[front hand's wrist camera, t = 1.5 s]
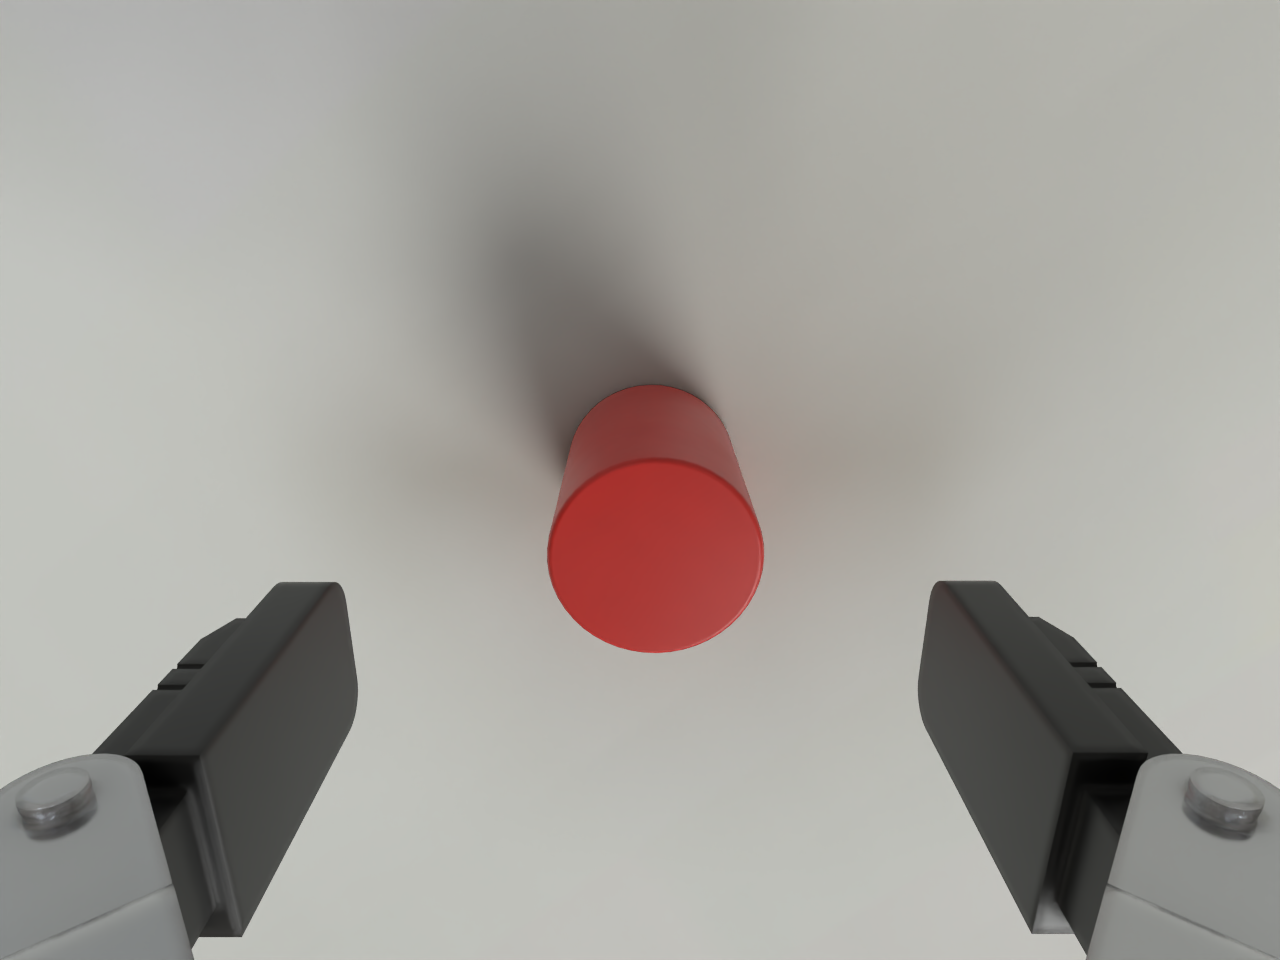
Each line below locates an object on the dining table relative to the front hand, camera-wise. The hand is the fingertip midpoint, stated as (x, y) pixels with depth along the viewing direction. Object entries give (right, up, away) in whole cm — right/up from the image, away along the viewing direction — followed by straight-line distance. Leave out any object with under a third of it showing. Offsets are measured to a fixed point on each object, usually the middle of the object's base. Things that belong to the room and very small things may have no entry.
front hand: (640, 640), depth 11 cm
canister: (0, +3, +6) cm, 7 cm away
